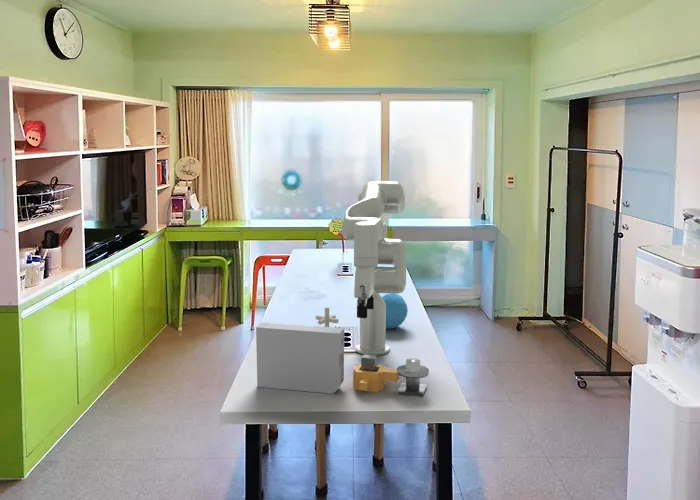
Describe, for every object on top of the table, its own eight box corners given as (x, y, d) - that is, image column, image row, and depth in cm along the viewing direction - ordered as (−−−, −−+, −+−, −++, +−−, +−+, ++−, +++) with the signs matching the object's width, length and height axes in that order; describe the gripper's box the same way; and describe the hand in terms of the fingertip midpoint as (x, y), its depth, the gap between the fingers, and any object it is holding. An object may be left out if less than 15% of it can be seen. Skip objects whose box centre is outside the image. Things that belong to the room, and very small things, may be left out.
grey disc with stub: (399, 383, 225) (400, 354, 223) (430, 386, 223) (431, 356, 221) (393, 395, 216) (394, 364, 214) (425, 398, 213) (426, 367, 211)
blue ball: (390, 319, 298) (390, 285, 295) (415, 330, 282) (416, 294, 279) (358, 324, 291) (358, 289, 288) (382, 336, 275) (383, 299, 272)
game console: (263, 380, 227) (262, 322, 224) (344, 387, 221) (344, 327, 218) (256, 387, 222) (255, 327, 218) (339, 394, 216) (340, 333, 212)
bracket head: (358, 380, 228) (358, 363, 226) (400, 384, 224) (401, 367, 223) (348, 394, 216) (348, 375, 215) (393, 398, 213) (393, 380, 211)
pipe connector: (330, 336, 274) (330, 312, 272) (309, 332, 279) (309, 308, 277) (344, 330, 282) (344, 306, 280) (324, 326, 287) (324, 303, 285)
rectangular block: (363, 384, 225) (363, 354, 223) (376, 385, 223) (377, 355, 221) (361, 387, 222) (361, 357, 220) (374, 388, 220) (374, 358, 219)
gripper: (360, 254, 227) (360, 304, 231) (347, 266, 211) (347, 320, 215) (382, 255, 226) (382, 306, 229) (371, 268, 209) (371, 322, 213)
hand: (365, 313), depth 222 cm, fingers open, 9 cm apart
